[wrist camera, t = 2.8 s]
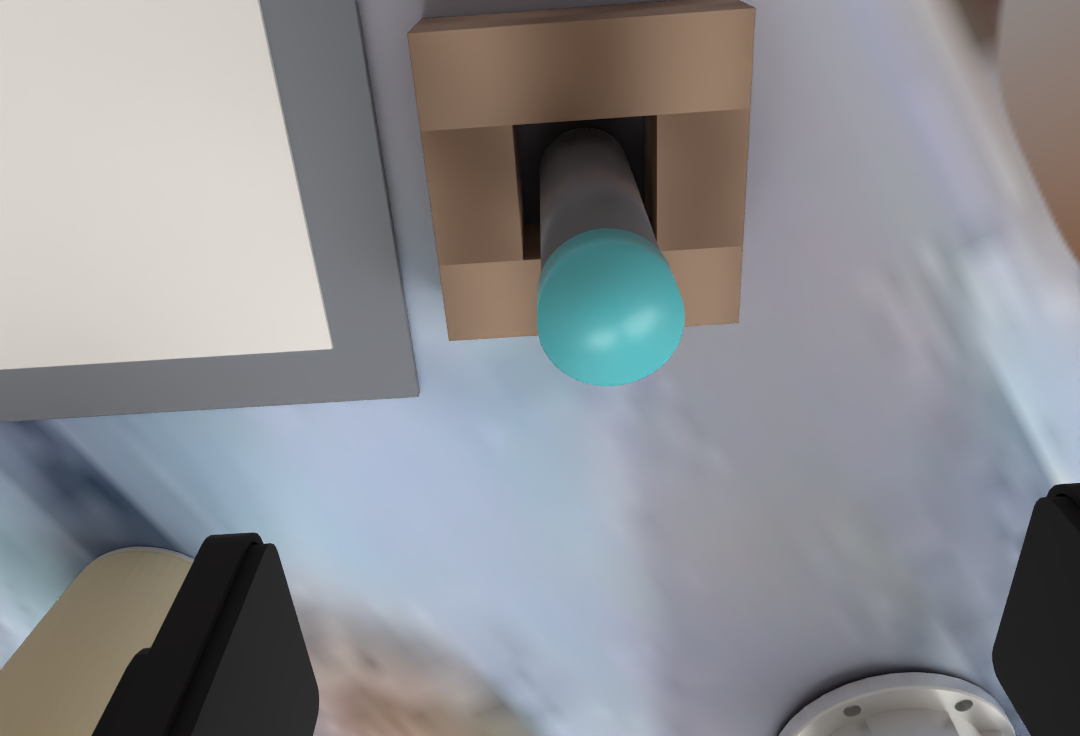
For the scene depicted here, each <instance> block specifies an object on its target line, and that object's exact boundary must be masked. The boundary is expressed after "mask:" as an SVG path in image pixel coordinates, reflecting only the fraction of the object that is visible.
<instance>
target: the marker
mask: <svg viewBox="0 0 1080 736" xmlns="http://www.w3.org/2000/svg"><path fill="white" fill-rule="evenodd" d="M540 238H541V274H540V277H539V280H538V286H537V330H538V336H539V339H540V343H541V345H542V347H543V349H544V351H545V353H546V355H547V356H548V358H549V359H550V360H551V361H552V362H553V364H554V365H555V366H556V367H558V368H559V369H560V370H561V371H562V372H564V373H565V374H567V375H568V376H570V377H572V378H574V379H576V380H578V381H581V382H584V383H588V384H592V385H599V386H617V385H623V384H628V383H632V382H634V381H637V380H640V379H642V378H644V377H646V376H648V375H650V374H651V373H653V372H654V371H656V370H657V369H658V368H660V367H661V366H662V365H663V364H664V363H665V362H666V361H667V360H668V359H669V358H670V356H671V355H672V354H673V352H674V351H675V349H676V347H677V345H678V344H679V341H680V339H681V336H682V333H683V329H684V321H685V312H684V305H683V300H682V297H681V295H680V292H679V289H678V287H677V284H676V281H675V278H674V276H673V273H672V270H671V268H670V265H669V263H668V261H667V260H666V258H665V256H664V255H663V254H662V252H661V251H660V250H659V247H658V244H657V241H656V239H655V236H654V233H653V230H652V227H651V225H650V222H649V219H648V216H647V213H646V210H645V208H644V205H643V202H642V199H641V196H640V194H639V191H638V188H637V185H636V182H635V180H634V177H633V174H632V171H631V168H630V166H629V163H628V160H627V157H626V154H625V152H624V150H623V148H622V147H621V145H620V144H619V143H618V142H617V141H616V140H615V139H614V138H613V137H612V136H610V135H609V134H607V133H606V132H603V131H601V130H598V129H594V128H577V129H573V130H570V131H567V132H565V133H563V134H561V135H560V136H558V137H557V138H556V139H555V140H554V141H553V142H552V143H551V144H550V145H549V146H548V148H547V149H546V151H545V153H544V155H543V157H542V160H541V164H540Z"/></svg>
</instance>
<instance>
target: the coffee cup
mask: <svg viewBox="0 0 1080 736" xmlns="http://www.w3.org/2000/svg"><path fill="white" fill-rule="evenodd" d="M193 561H194V558H191V557H189V556H187V555H184V554H182V553H179V552H175V551H172V550H168V549H164V548H157V547H142V546H137V547H127V548H121V549H117V550H114V551H110V552H108V553H106V554H104V555H102V556H100V557H98V558H96V559H95V560H94V561H92V562H91V563H90V564H88V565H87V566H86V567H85V568H84V569H83V571H82V572H81V573H80V574H79V575H78V576H77V577H76V579H75V580H74V581H73V582H72V583H71V584H70V586H69V587H68V588H67V589H66V590H65V592H64V593H63V594H62V595H61V596H60V598H59V599H58V600H57V601H56V603H55V604H54V605H53V606H52V608H51V609H50V610H49V611H48V612H47V614H46V615H45V616H44V617H43V619H42V620H41V621H40V622H39V624H38V625H37V626H36V627H35V628H34V630H33V631H32V632H31V633H30V635H29V636H28V637H27V638H26V640H25V641H24V642H23V643H22V644H21V646H20V647H19V648H18V649H17V651H16V652H15V653H14V654H13V656H12V657H11V658H10V659H9V661H8V662H7V663H6V664H5V665H4V667H3V668H2V669H1V670H0V736H91V735H92V733H93V731H94V729H95V728H96V726H97V724H98V722H99V720H100V718H101V716H102V714H103V712H104V710H105V708H106V706H107V704H108V702H109V700H110V698H111V697H112V695H113V693H114V691H115V689H116V687H117V685H118V683H119V681H120V679H121V677H122V675H123V673H124V671H125V669H126V668H127V666H128V664H129V663H130V661H131V660H132V658H133V657H134V655H135V654H137V653H138V652H139V651H140V650H142V649H143V648H150V647H151V646H152V644H153V642H154V640H155V638H156V636H157V634H158V632H159V630H160V628H161V626H162V624H163V622H164V620H165V618H166V616H167V614H168V612H169V610H170V608H171V606H172V604H173V602H174V600H175V598H176V596H177V594H178V592H179V590H180V588H181V586H182V584H183V582H184V580H185V578H186V576H187V574H188V572H189V570H190V567H191V565H192V563H193Z"/></svg>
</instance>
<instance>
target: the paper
mask: <svg viewBox="0 0 1080 736" xmlns="http://www.w3.org/2000/svg"><path fill="white" fill-rule="evenodd" d="M332 348H333V343H332V339H331V334H330V329H329V324H328V320H327V315H326V310H325V306H324V301H323V296H322V291H321V287H320V282H319V277H318V273H317V268H316V263H315V258H314V254H313V249H312V244H311V240H310V235H309V230H308V225H307V221H306V216H305V211H304V207H303V202H302V197H301V192H300V188H299V183H298V178H297V174H296V169H295V164H294V159H293V155H292V150H291V145H290V141H289V136H288V131H287V127H286V122H285V117H284V112H283V108H282V103H281V98H280V94H279V89H278V84H277V79H276V75H275V70H274V65H273V61H272V56H271V51H270V46H269V42H268V37H267V32H266V28H265V23H264V18H263V13H262V9H261V4H260V0H0V370H2V369H19V368H35V367H51V366H67V365H83V364H99V363H115V362H131V361H147V360H163V359H179V358H195V357H212V356H228V355H244V354H260V353H276V352H292V351H308V350H324V349H332Z"/></svg>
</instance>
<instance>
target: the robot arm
mask: <svg viewBox="0 0 1080 736" xmlns="http://www.w3.org/2000/svg"><path fill="white" fill-rule="evenodd" d="M992 661H993V666H994V670H995V673H996V676H997V678H998V680H999V682H1000V684H1001V686H1002V687H1003V689H1004V691H1005V692H1006V694H1007V696H1008V697H1009V699H1010V701H1011V702H1012V704H1013V706H1014V707H1015V709H1016V711H1017V713H1018V714H1019V716H1020V718H1021V719H1022V721H1023V723H1024V724H1025V726H1026V728H1027V729H1028V731H1029V733H1030V734H1031V736H1080V483H1072V484H1059V485H1055V486H1053V487H1052V488H1051V489H1050V490H1049V492H1048V495H1047V497H1043V498H1040V499H1039V500H1038V501H1037V502H1036V504H1035V506H1034V509H1033V512H1032V516H1031V519H1030V523H1029V526H1028V529H1027V533H1026V536H1025V540H1024V543H1023V547H1022V550H1021V554H1020V557H1019V560H1018V564H1017V567H1016V571H1015V574H1014V578H1013V581H1012V585H1011V588H1010V591H1009V595H1008V598H1007V602H1006V605H1005V609H1004V612H1003V616H1002V619H1001V622H1000V626H999V629H998V633H997V636H996V640H995V643H994V647H993V652H992ZM318 710H319V691H318V686H317V683H316V679H315V676H314V672H313V669H312V666H311V662H310V659H309V656H308V652H307V649H306V645H305V642H304V639H303V635H302V632H301V629H300V625H299V622H298V618H297V615H296V612H295V608H294V605H293V601H292V598H291V595H290V591H289V588H288V585H287V581H286V578H285V574H284V571H283V568H282V564H281V561H280V558H279V554H278V551H277V549H276V547H275V545H274V544H271V543H269V544H263V542H262V539H261V537H260V536H259V535H258V534H257V533H239V534H223V535H210V536H209V537H207V538H206V539H205V541H204V542H203V544H202V545H201V547H200V549H199V551H198V553H197V555H196V557H195V559H194V561H193V563H192V565H191V567H190V570H189V572H188V574H187V576H186V578H185V580H184V582H183V584H182V586H181V588H180V590H179V592H178V594H177V596H176V598H175V600H174V602H173V604H172V606H171V608H170V610H169V612H168V614H167V616H166V618H165V620H164V622H163V624H162V626H161V628H160V630H159V632H158V634H157V636H156V638H155V640H154V642H153V644H152V646H151V647H150V648H143V649H142V650H140V651H139V652H138V653H137V654H135V655H134V657H133V658H132V660H131V661H130V663H129V664H128V666H127V668H126V669H125V671H124V673H123V675H122V677H121V679H120V681H119V683H118V685H117V687H116V689H115V691H114V693H113V695H112V697H111V698H110V700H109V702H108V704H107V706H106V708H105V710H104V712H103V714H102V716H101V718H100V720H99V722H98V724H97V726H96V728H95V729H94V731H93V733H92V735H91V736H313V733H314V729H315V725H316V721H317V716H318ZM779 736H1016V735H1015V730H1014V728H1013V726H1012V724H1011V722H1010V721H1009V719H1008V717H1007V715H1006V713H1005V712H1004V710H1003V708H1002V707H1001V706H1000V705H999V704H998V702H997V701H996V700H995V699H994V697H992V696H991V695H990V694H988V693H987V692H985V691H984V690H983V689H981V688H980V687H978V686H976V685H973V684H971V683H969V682H967V681H964V680H962V679H958V678H954V677H950V676H946V675H942V674H934V673H922V672H906V673H891V674H885V675H879V676H874V677H868V678H865V679H862V680H859V681H855V682H852V683H849V684H846V685H843V686H841V687H839V688H837V689H835V690H832V691H830V692H828V693H826V694H824V695H822V696H821V697H819V698H818V699H816V700H814V701H813V702H811V703H810V704H808V705H807V706H805V707H804V708H803V709H802V710H801V711H800V712H799V713H797V714H796V715H795V716H794V717H793V718H792V719H791V720H790V721H789V722H788V724H787V725H786V726H785V727H784V729H783V730H782V731H781V733H780V734H779Z"/></svg>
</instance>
